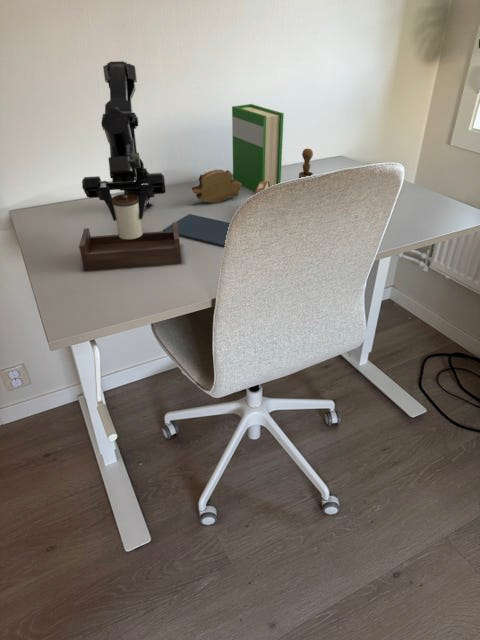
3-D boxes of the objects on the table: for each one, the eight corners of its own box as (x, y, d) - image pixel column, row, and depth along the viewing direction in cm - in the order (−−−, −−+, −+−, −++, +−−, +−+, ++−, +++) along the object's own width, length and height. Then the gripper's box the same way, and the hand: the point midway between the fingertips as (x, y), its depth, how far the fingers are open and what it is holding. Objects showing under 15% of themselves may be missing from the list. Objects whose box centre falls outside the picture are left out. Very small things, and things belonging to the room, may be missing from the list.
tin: (263, 223, 133) (263, 194, 128) (252, 222, 134) (252, 194, 129) (270, 204, 145) (271, 177, 141) (260, 203, 146) (261, 176, 141)
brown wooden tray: (89, 252, 119) (83, 228, 115) (179, 245, 122) (177, 222, 118) (84, 271, 111) (78, 246, 107) (181, 263, 114) (179, 238, 110)
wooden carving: (236, 194, 153) (235, 163, 147) (243, 198, 150) (243, 167, 144) (190, 203, 146) (188, 171, 140) (196, 208, 143) (194, 176, 137)
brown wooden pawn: (291, 206, 144) (294, 146, 133) (311, 205, 144) (316, 145, 134) (294, 214, 138) (298, 152, 128) (316, 213, 139) (322, 151, 128)
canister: (112, 236, 112) (105, 196, 106) (129, 227, 116) (123, 188, 111) (132, 241, 110) (126, 201, 104) (148, 232, 114) (143, 192, 108)
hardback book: (280, 190, 155) (283, 113, 142) (261, 195, 152) (263, 116, 138) (250, 176, 168) (251, 103, 154) (233, 180, 164) (232, 106, 150)
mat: (162, 232, 129) (162, 230, 129) (189, 215, 138) (189, 213, 138) (225, 247, 121) (225, 245, 121) (248, 229, 130) (248, 227, 130)
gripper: (74, 141, 103) (78, 208, 100) (160, 137, 105) (166, 202, 103) (85, 166, 114) (89, 227, 111) (162, 162, 116) (168, 221, 114)
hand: (127, 219), depth 109 cm, fingers closed on canister, 6 cm apart
